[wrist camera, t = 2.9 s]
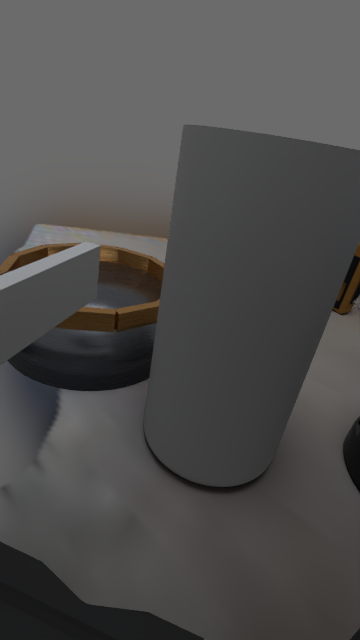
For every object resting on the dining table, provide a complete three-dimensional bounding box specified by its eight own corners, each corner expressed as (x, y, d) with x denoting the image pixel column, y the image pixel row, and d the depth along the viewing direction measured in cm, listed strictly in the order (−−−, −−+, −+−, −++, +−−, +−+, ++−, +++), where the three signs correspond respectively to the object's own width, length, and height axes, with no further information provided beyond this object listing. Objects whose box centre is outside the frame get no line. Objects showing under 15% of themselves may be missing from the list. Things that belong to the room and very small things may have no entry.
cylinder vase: (114, 434, 31) (140, 116, 19) (190, 375, 40) (238, 139, 29) (235, 524, 25) (376, 149, 14) (290, 430, 35) (401, 163, 23)
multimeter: (385, 316, 67) (438, 213, 57) (360, 325, 61) (415, 212, 52) (321, 285, 77) (357, 193, 67) (294, 291, 71) (330, 191, 61)
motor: (182, 306, 56) (192, 254, 51) (210, 394, 38) (228, 325, 33) (26, 293, 51) (23, 234, 47) (-28, 387, 33) (-41, 305, 29)
